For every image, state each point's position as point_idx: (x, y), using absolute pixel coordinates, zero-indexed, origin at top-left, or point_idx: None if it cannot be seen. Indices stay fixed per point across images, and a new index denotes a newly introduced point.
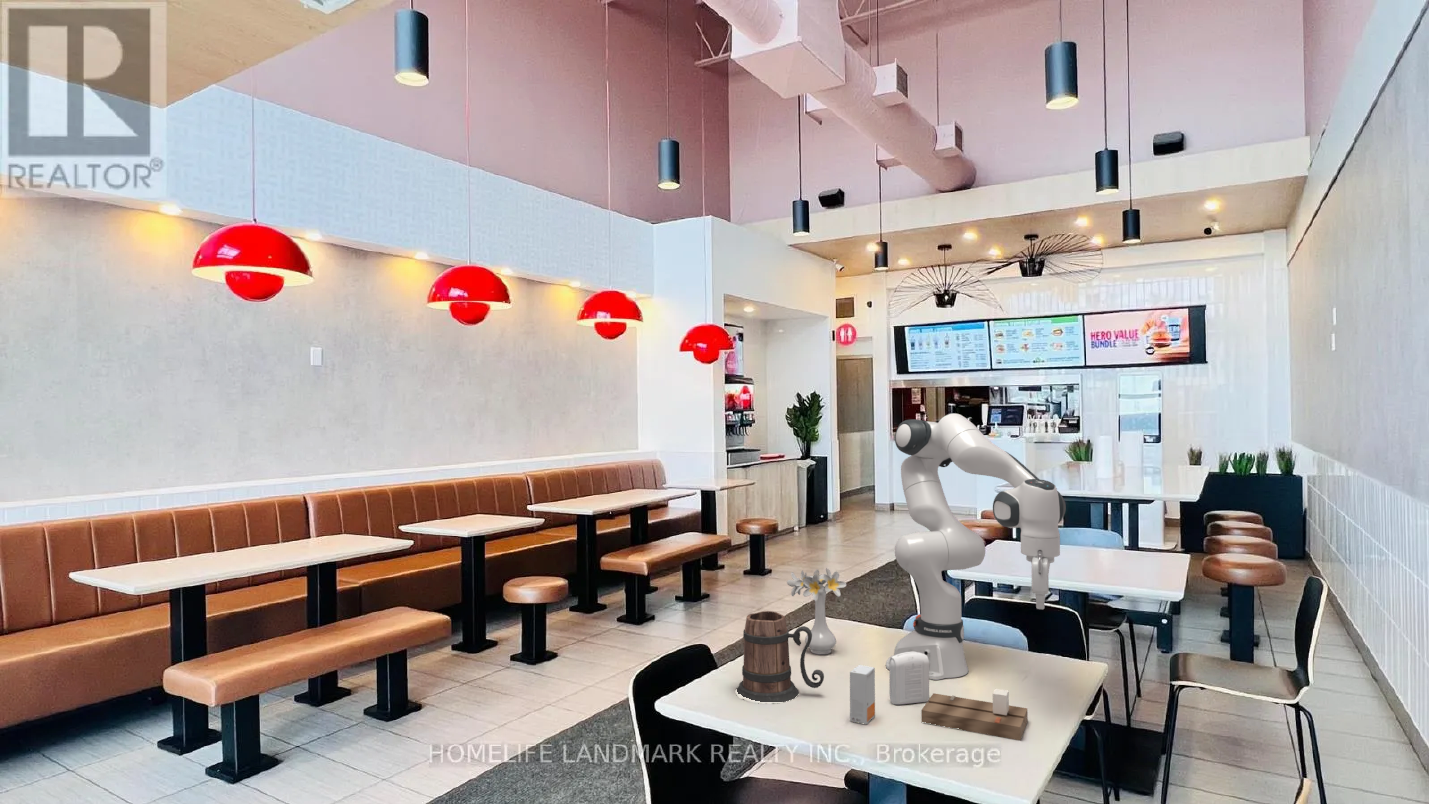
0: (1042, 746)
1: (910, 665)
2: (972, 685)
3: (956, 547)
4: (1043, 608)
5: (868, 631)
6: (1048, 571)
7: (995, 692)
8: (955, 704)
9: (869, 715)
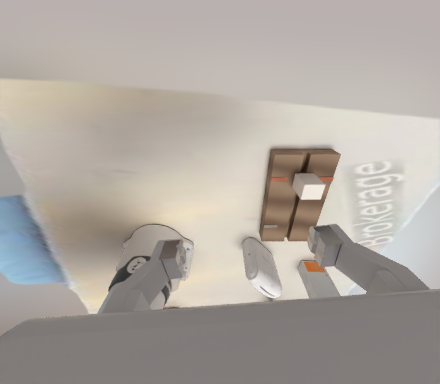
0: (344, 124)
1: (274, 279)
2: (186, 214)
3: None
4: (335, 226)
5: (99, 302)
6: (6, 360)
7: (315, 197)
8: (286, 220)
9: (317, 265)
